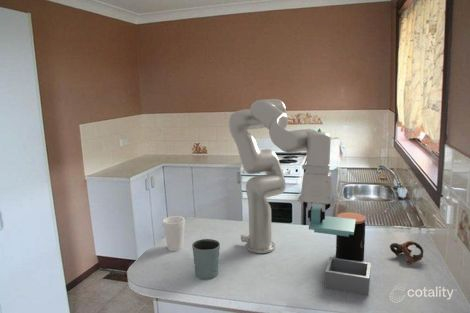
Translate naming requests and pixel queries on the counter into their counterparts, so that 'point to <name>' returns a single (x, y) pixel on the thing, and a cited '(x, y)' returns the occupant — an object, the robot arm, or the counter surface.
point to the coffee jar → (352, 239)
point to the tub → (348, 276)
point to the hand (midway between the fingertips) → (316, 220)
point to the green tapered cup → (206, 258)
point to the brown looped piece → (407, 251)
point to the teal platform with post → (331, 223)
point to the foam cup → (174, 232)
